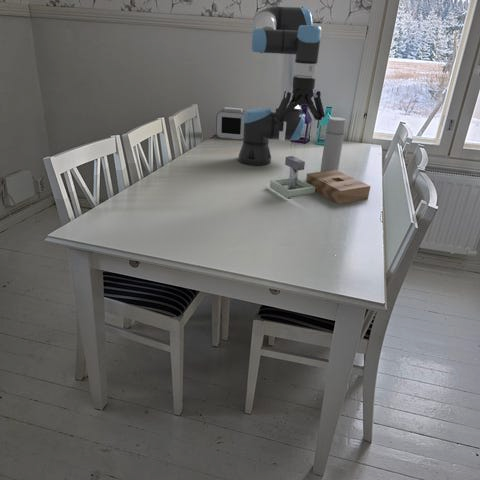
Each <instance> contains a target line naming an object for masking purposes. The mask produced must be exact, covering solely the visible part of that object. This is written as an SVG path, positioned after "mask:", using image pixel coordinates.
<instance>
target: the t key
mask: <svg viewBox="0 0 480 480" xmlns="http://www.w3.org/2000/svg"><path fill="white" fill-rule="evenodd" d="M305 162H306V161H304V160H302V159H300V158H298V157H296V156H294V155H290V156H289V155H288V156H285V162H284V165H285V166H287V167H289V177H288V178H289V184H288V186H287V187H288V188H287V189H289V190H293V189H297V185H298V184H297V177H298V175H299V171H303V170H305Z"/></svg>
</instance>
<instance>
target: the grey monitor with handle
mask: <svg viewBox="0 0 480 480" xmlns="http://www.w3.org/2000/svg"><path fill="white" fill-rule="evenodd" d="M247 111H248V110H243V108H238V107H237V108H236V107H226V106H225V107H223V108H222V109H220V110H219V111H218V113H217V114H216V117H215V118H216V120H215V121H216V123H215V125H216V126H215V127H216V130H215V134H216V136H217V137H218V138H219V139H223V140H224V139H225V140H237V141H243V134H244V117H245V113H246V112H247Z"/></svg>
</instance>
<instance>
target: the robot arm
mask: <svg viewBox="0 0 480 480" xmlns="http://www.w3.org/2000/svg"><path fill="white" fill-rule="evenodd" d="M252 27H253V29H252V33H251V46H250V47H251V51H252V52H253V53H259V54H280V55H282V58H281V59H282V63H281V78H280V92H279V103H278V104H279V105H277V106H276V107H275V111H274V112H273V111H272V109H271V108H269V107H268V108H267V107H266V108H265V107H258V108H251V109H249V110H246V111H247V112H246V113H245V117H244V134H243V140H242V145H241V148H240V150H239V153H238V161H239V163H242V164H244V165H248V166H249V165H250V166H266V165H269V164H270V163H271V162H272V154H271V151H270V146H269V142H270V141H269V140H278V141H281V142H285V141H298V140H300V138H301V137H302V135H303V131H304V129H305V127H304V126H305V122H306V114H305V113H303V109H302V107H301V106H303V105H304V106H307V108H308V110H309V111H310V114H311V115H312V117H313V118H311V121H310V122H311V123H310V131H309V137H310V138H313V139H316V137H317V131H318V128H319V126H320V121H322V119H323V118H325V117H326V115H325V111H324V107H323V103H322V99H321V95H322V94H321V91H320V90H317V89H316V90H314V89H315V86H316V78H315V77H316V76H317V69H318V68H317V67H318V62H319V61H318V60H319V59H318V58H319V52H320V44H321V39H322V27H321V26H320V25H313V17H312V12H311V10H310V9H309V8H304V7H300V6H299V7H295V6H293V7H292V6H290V7H289V6H277V5H275V6H270V7H269V6H268V7H266V8H263V9H262V10H260V11H259V12H257V13H256V14H255V16H254V18H253V22H252ZM312 98H313V99H312Z"/></svg>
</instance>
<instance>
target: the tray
mask: <svg viewBox="0 0 480 480" xmlns="http://www.w3.org/2000/svg"><path fill="white" fill-rule="evenodd" d="M269 181H270V182H269V188H270V189H271V190H273V191H274V192H276V193H278V194H279V195H280V196H282V197H284V198H285V199H287V200H291V199H292V198H291V197H296V196H302V195H309V194H314V193H316V192H315V188H316V187H314V186H312V185H310V184H309V183H307V182H306V180H305V181H304V180H303V179H301V178H300V177H298V176H297V185H298V186H300V187H301V188H296V189H293V190H289V189H288V188H287V187H286V186H284V185H289V177H283V178H274V179H270V180H269Z"/></svg>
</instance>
